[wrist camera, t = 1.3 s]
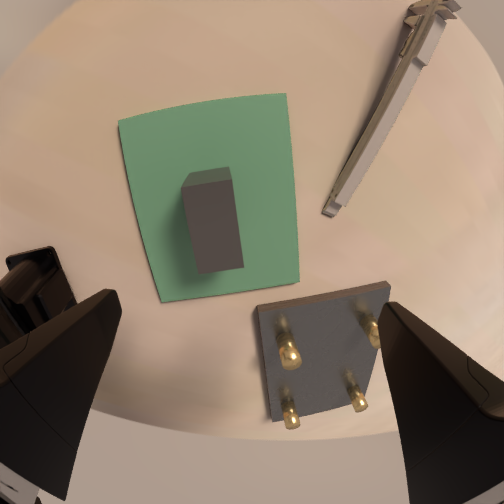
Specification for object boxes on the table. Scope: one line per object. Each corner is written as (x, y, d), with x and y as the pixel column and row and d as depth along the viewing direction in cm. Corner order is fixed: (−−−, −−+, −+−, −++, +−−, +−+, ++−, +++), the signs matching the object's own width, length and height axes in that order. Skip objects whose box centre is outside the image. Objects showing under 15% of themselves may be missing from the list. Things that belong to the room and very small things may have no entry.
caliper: (406, 5, 14) (453, -13, 8) (416, 12, 14) (463, -3, 8) (320, 211, 21) (356, 245, 15) (332, 216, 21) (370, 251, 15)
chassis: (271, 415, 31) (276, 441, 28) (257, 305, 23) (264, 337, 20) (360, 394, 32) (371, 417, 28) (385, 280, 24) (407, 305, 21)
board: (163, 294, 23) (152, 340, 18) (123, 120, 17) (89, 121, 12) (295, 274, 23) (316, 317, 18) (282, 94, 17) (306, 84, 12)
